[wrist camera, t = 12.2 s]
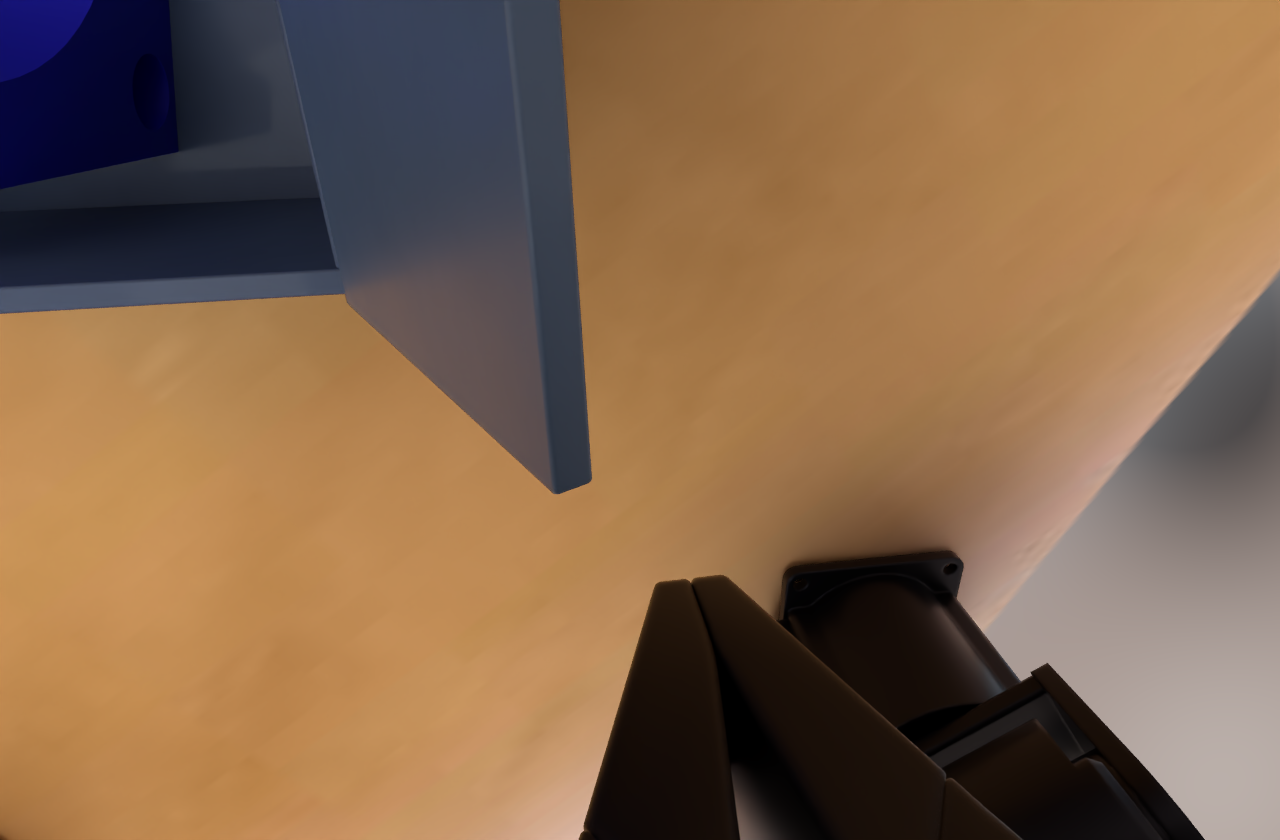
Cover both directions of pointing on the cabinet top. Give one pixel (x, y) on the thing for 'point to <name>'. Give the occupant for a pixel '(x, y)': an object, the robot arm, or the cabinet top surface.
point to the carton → (187, 189)
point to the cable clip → (83, 86)
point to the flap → (456, 203)
